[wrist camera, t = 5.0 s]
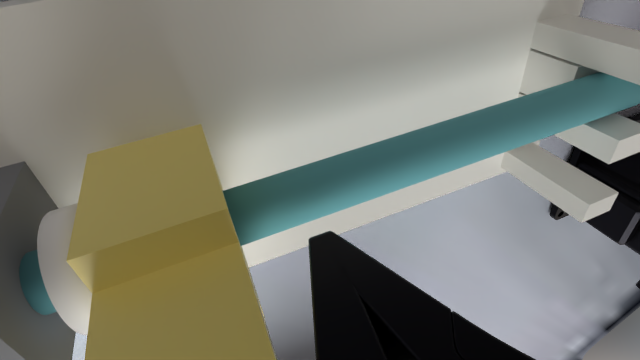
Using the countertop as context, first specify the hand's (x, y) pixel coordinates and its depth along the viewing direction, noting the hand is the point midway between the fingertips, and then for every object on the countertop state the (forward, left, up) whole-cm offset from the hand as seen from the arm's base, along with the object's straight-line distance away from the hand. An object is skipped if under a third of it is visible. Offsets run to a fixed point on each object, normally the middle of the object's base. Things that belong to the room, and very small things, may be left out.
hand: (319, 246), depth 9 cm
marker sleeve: (+3, 0, -4) cm, 5 cm away
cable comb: (-2, 0, -6) cm, 6 cm away
